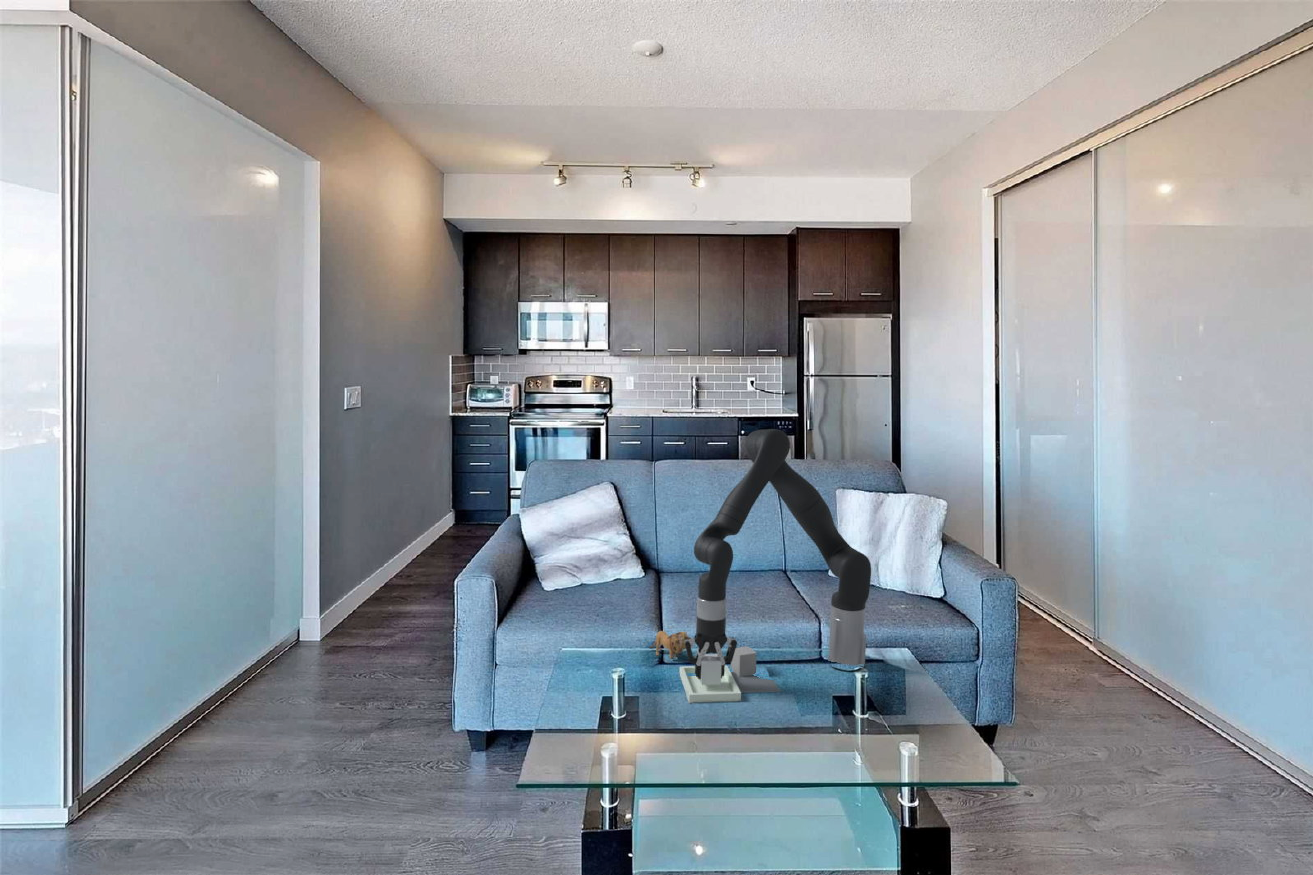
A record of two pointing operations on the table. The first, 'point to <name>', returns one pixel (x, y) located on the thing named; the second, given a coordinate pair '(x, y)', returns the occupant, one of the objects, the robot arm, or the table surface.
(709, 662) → the stone block
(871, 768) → the table surface
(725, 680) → the sage tray
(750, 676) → the slate mat
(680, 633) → the lion figurine
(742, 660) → the stone block
